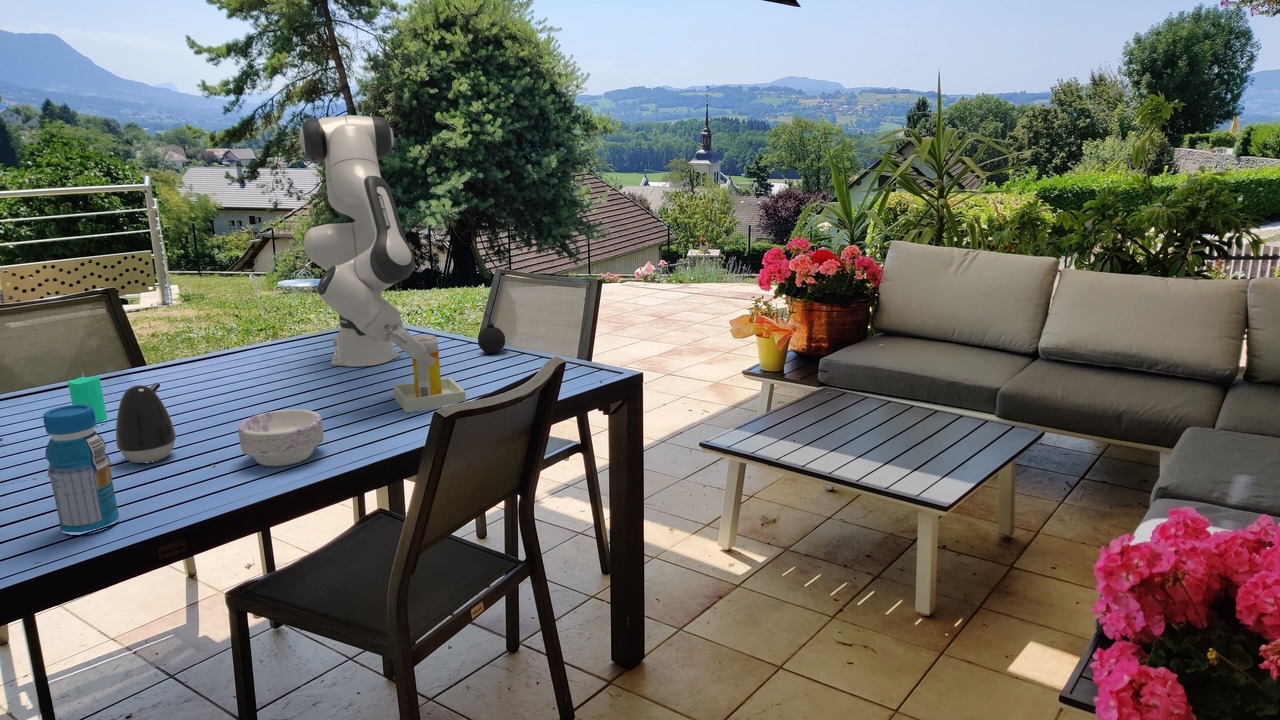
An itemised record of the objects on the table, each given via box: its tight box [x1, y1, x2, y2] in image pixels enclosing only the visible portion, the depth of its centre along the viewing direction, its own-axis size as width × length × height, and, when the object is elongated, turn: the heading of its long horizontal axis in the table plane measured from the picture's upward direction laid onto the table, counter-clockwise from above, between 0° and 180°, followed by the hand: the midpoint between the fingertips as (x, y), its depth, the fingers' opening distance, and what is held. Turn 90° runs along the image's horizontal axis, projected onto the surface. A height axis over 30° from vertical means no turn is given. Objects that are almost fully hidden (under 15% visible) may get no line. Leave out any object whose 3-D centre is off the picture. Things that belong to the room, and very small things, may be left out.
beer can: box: [411, 334, 442, 398], centre depth 201 cm, size 6×6×15 cm
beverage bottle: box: [42, 404, 120, 532], centre depth 137 cm, size 8×8×20 cm
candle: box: [67, 372, 108, 423], centre depth 190 cm, size 6×6×12 cm
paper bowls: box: [237, 409, 324, 467], centre depth 167 cm, size 15×15×8 cm
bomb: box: [477, 312, 506, 355], centre depth 247 cm, size 8×8×12 cm
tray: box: [392, 377, 467, 414], centre depth 203 cm, size 14×14×3 cm
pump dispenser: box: [115, 382, 177, 464], centre depth 168 cm, size 10×10×15 cm
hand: (428, 358), depth 201 cm, fingers open, 8 cm apart
